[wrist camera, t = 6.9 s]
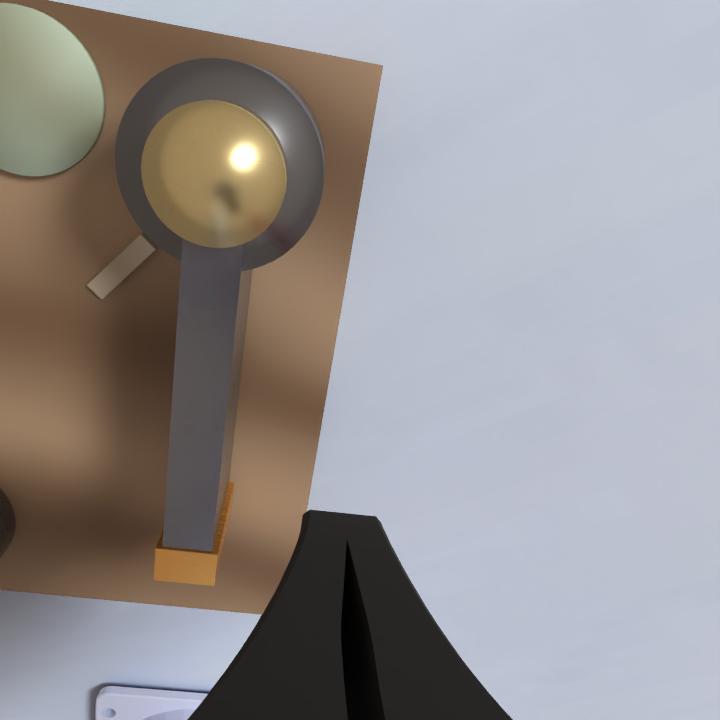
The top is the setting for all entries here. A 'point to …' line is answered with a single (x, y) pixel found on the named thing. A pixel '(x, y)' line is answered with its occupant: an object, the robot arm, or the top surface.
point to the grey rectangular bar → (6, 522)
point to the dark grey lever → (214, 259)
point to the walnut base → (148, 316)
